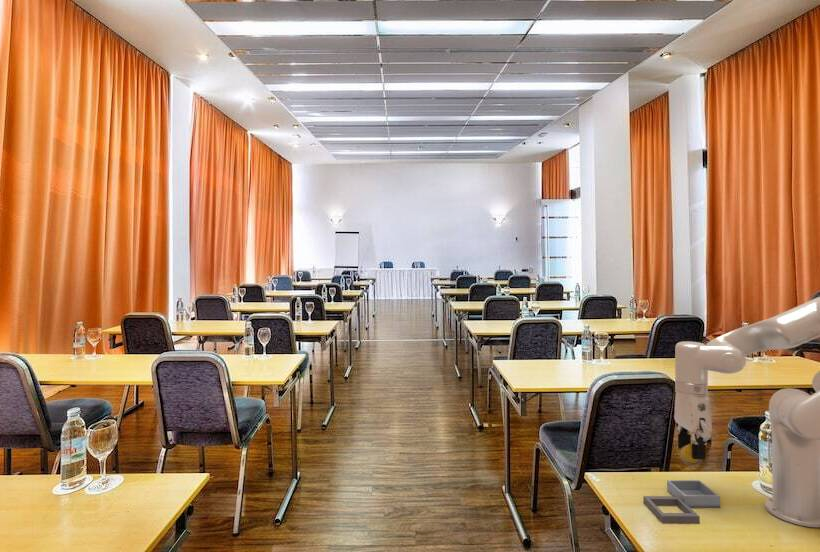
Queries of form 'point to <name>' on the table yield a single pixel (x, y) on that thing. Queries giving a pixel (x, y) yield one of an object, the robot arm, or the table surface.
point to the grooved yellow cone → (688, 456)
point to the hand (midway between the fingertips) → (691, 452)
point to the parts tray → (694, 493)
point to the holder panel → (685, 517)
